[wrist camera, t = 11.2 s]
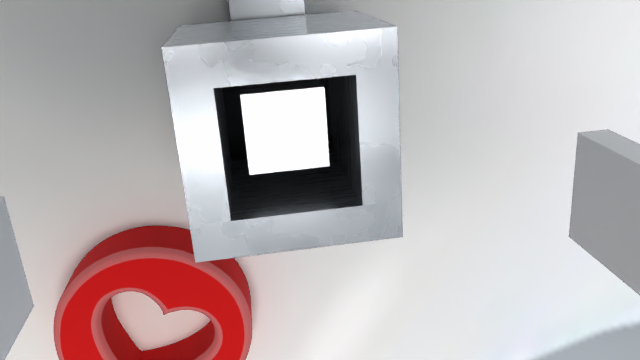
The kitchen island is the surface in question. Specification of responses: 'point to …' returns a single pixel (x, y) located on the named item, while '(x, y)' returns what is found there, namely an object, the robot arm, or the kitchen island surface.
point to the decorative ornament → (160, 285)
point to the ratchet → (277, 109)
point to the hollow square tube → (296, 185)
